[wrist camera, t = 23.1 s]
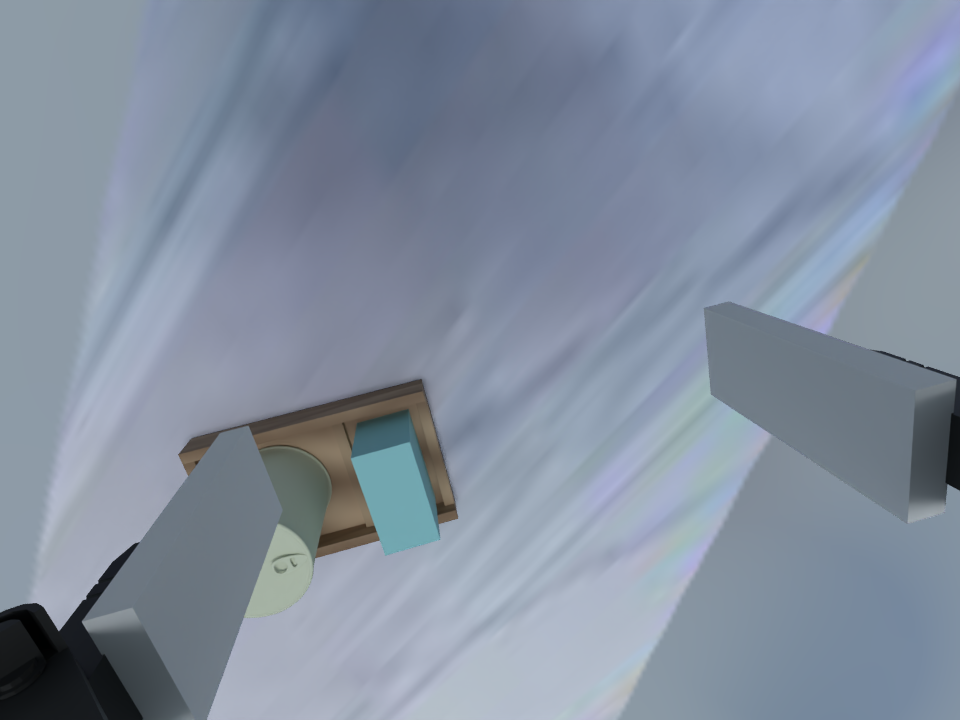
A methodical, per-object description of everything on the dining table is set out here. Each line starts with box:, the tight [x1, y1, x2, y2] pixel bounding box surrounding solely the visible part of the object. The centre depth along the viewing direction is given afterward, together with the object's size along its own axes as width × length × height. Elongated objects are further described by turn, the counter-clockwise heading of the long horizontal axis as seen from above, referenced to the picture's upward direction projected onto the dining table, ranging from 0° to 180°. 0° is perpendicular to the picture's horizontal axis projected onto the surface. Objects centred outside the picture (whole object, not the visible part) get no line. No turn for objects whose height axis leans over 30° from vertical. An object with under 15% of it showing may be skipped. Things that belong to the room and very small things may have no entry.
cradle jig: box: [178, 379, 458, 558], centre depth 51 cm, size 14×22×3 cm, turn 103°
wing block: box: [351, 409, 440, 555], centre depth 49 cm, size 10×5×7 cm, turn 13°
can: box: [244, 446, 332, 618], centre depth 45 cm, size 9×9×12 cm
